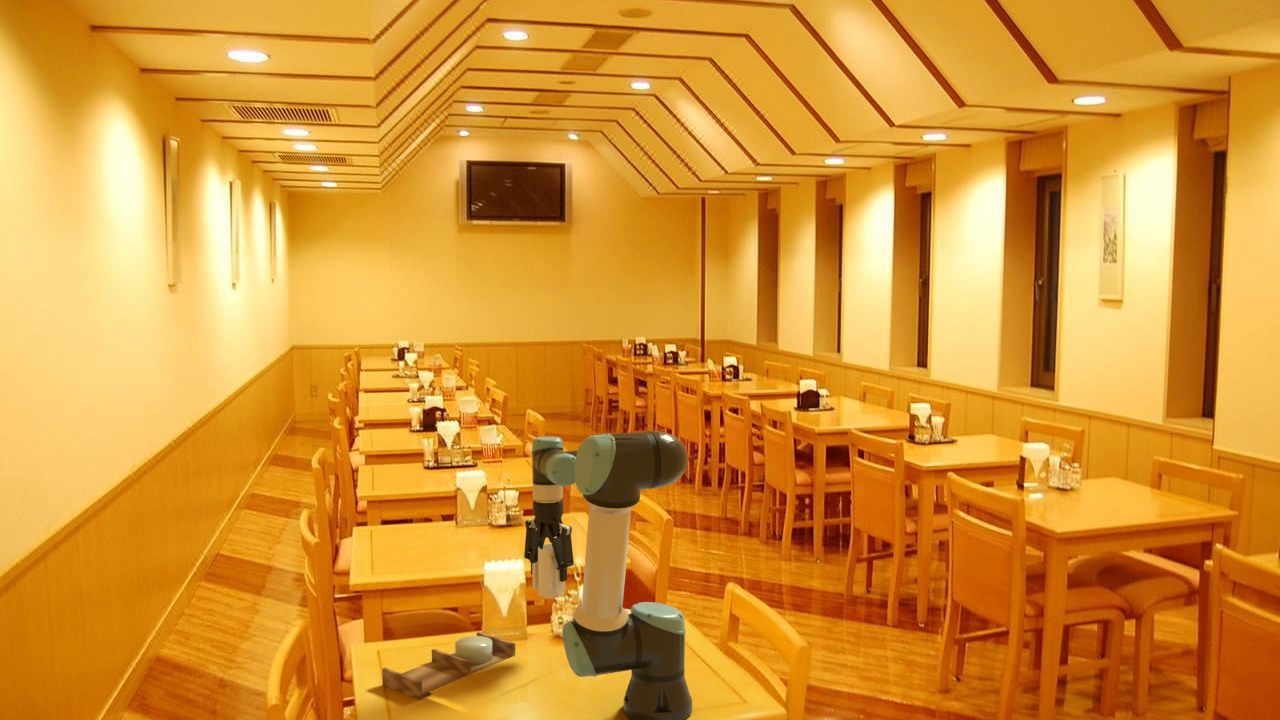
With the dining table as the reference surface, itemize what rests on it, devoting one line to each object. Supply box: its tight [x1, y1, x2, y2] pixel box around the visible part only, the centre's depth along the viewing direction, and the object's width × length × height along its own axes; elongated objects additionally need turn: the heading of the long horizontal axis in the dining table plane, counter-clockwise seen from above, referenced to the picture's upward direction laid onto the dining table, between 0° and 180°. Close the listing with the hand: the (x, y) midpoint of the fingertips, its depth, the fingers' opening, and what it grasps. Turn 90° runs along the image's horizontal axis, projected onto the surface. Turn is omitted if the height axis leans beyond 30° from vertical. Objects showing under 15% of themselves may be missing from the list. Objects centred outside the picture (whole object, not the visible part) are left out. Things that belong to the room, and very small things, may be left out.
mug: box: [537, 543, 565, 599], centre depth 251 cm, size 10×7×12 cm, turn 0°
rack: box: [381, 631, 516, 701], centre depth 244 cm, size 13×30×4 cm, turn 142°
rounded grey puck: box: [454, 635, 492, 666], centre depth 249 cm, size 9×9×4 cm
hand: (548, 590), depth 252 cm, fingers closed on mug, 7 cm apart
